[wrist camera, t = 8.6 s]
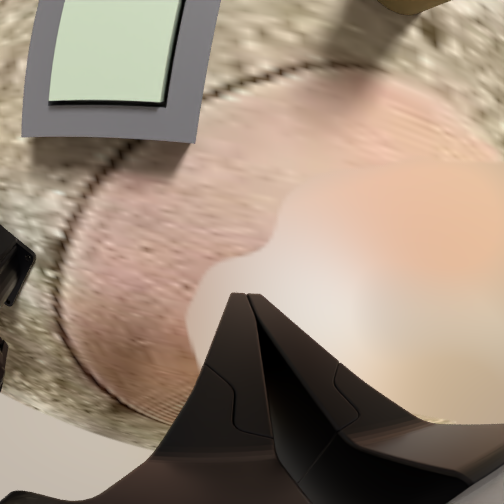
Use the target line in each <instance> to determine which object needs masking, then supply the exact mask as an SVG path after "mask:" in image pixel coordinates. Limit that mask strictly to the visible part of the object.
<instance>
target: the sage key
mask: <svg viewBox="0 0 504 504" xmlns="http://www.w3.org/2000/svg"><path fill="white" fill-rule="evenodd" d="M183 6H184V4H183V0H65V3H64V7H63V11H62V15H61V20H60V25H59V30H58V35H57V40H56V46H55V52H54V59H53V66H52V73H51V82H50V91H49V101H59V100H125V101H146V102H163V101H166V98H167V92H168V85H169V79H170V73H171V67H172V61H173V55H174V50H175V45H176V39H177V34H178V29H179V24H180V20H181V15H182V11H183Z"/></svg>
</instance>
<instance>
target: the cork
mask: <svg viewBox="0 0 504 504" xmlns="http://www.w3.org/2000/svg"><path fill="white" fill-rule="evenodd" d="M448 1H451V0H378V2H380V3H381V4H382V5H384V6H385V7H387V8H388V9H389V10H392V11H394V12H396V13H399V14H403V15H414V14H418V13H420V12H423V11H425V10H428V9H430V8H433V7H435V6H438V5H440V4H443V3H446V2H448Z"/></svg>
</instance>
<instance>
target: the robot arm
mask: <svg viewBox="0 0 504 504" xmlns="http://www.w3.org/2000/svg"><path fill="white" fill-rule="evenodd" d="M28 255H29V256H30V257H31V258H29V257H28ZM35 258H36V257H35V253H34V252H33V251H32V250H31V249H29V248H28V247H27V246H26V245H24V244H23V243H22V242H21V241H19V240H18V239H17V238H16V237H14V236H13V235H12V234H11V233H10V232H8V231H7V230H6V229H5V228H4V227H2V226H1V225H0V309H1V307H2V306H3V304H6V305H7V306H12V305H13V303H14V302H15V299H16V297H17V295H18V293H19V291H20V288H21V286H22V284H23V282H24V280H25V278H26V276H27V274H28V272H29V270H30V268H31V266H32V264H33V262H34V260H35ZM7 351H8V345H7V343H6V342H5V341H4V340H2V339H1V337H0V391H1V389H2V385H3V379H4V376H5V364H6V357H7ZM0 504H504V424H484V425H453V424H435V423H430V422H427V421H424V420H421V419H419V418H417V417H416V416H414V415H412V414H411V413H409V412H408V411H406V410H405V409H403V408H402V407H400V406H398V405H397V404H396V403H394V402H393V401H391V400H390V399H388V398H387V397H385V396H384V395H382V394H381V393H379V392H378V391H376V390H375V389H374V388H372V387H371V386H370V385H368V384H367V383H365V382H364V381H363V380H361V379H360V378H359V377H357V376H356V375H355V374H354V373H353V372H351V371H350V370H349V369H348V368H346V367H345V366H344V365H343V364H342V363H339V361H338V360H337V359H336V358H334V357H333V356H332V355H331V354H330V353H328V352H327V351H326V350H325V349H324V348H323V347H322V346H320V345H319V344H318V343H317V342H316V341H314V340H313V339H312V338H311V337H310V336H309V335H307V334H306V333H305V332H304V331H303V330H301V329H300V328H299V327H298V326H297V325H296V324H295V323H293V322H292V321H291V320H290V319H289V318H288V317H286V316H285V315H284V314H283V313H282V312H281V311H280V310H279V309H277V308H276V307H275V306H274V305H273V304H271V303H270V302H269V301H268V300H267V299H266V298H265V297H264V296H262V295H261V294H250V293H249V294H247V295H246V294H245V293H231V294H230V297H229V299H228V302H227V305H226V307H225V310H224V312H223V315H222V318H221V320H220V323H219V326H218V328H217V331H216V334H215V336H214V338H213V341H212V344H211V346H210V349H209V351H208V354H207V357H206V359H205V362H204V365H203V366H202V369H201V372H200V374H199V377H198V379H197V381H196V384H195V386H194V388H193V390H192V392H191V394H190V396H189V397H188V399H187V401H186V403H185V405H184V406H183V408H182V410H181V411H180V413H179V414H178V416H177V418H176V419H175V421H174V422H173V424H172V425H171V427H170V429H169V430H168V432H167V433H166V435H165V437H164V438H163V440H162V441H161V443H160V444H159V446H158V447H157V448H156V450H155V451H154V452H153V454H152V455H151V456H150V457H149V458H148V459H147V460H146V461H145V462H144V463H142V464H141V465H140V466H138V467H137V468H136V469H134V470H133V471H132V472H130V473H129V474H128V475H126V476H125V477H123V478H122V479H121V480H119V481H118V482H116V483H115V484H114V485H112V486H111V487H109V488H108V489H107V490H105V491H104V492H103V493H101V494H99V495H97V496H95V497H93V498H90V499H86V500H81V501H67V500H60V499H56V498H52V497H48V496H45V495H41V494H36V493H33V492H27V491H13V492H11V493H9V494H8V495H7V496H6V497H5V498H3V499H2V500H1V501H0Z"/></svg>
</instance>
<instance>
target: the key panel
mask: <svg viewBox="0 0 504 504" xmlns="http://www.w3.org/2000/svg"><path fill="white" fill-rule="evenodd" d="M220 2H221V0H183V4H184V6H183V11H182V15H181V20H180V24H179V29H178V34H177V39H176V45H175V50H174V55H173V61H172V67H171V73H170V79H169V85H168V92H167V98H166V101H163V102H146V101H125V100H59V101H49V91H50V82H51V73H52V66H53V59H54V52H55V46H56V40H57V35H58V30H59V25H60V20H61V15H62V11H63V7H64V3H65V0H39V4H38V8H37V12H36V16H35V21H34V26H33V31H32V36H31V41H30V47H29V54H28V60H27V68H26V76H25V85H24V96H23V111H22V137H108V138H130V139H146V140H160V141H172V142H183V143H194V144H195V141H196V134H197V127H198V121H199V114H200V108H201V102H202V95H203V89H204V83H205V78H206V72H207V66H208V61H209V56H210V50H211V45H212V40H213V35H214V30H215V25H216V21H217V16H218V11H219V7H220Z"/></svg>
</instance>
